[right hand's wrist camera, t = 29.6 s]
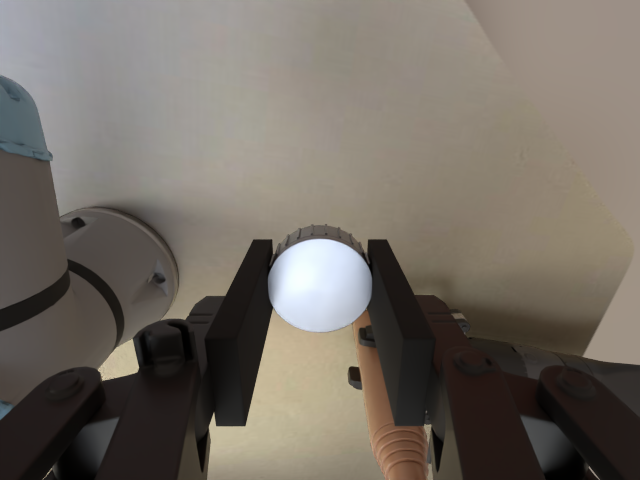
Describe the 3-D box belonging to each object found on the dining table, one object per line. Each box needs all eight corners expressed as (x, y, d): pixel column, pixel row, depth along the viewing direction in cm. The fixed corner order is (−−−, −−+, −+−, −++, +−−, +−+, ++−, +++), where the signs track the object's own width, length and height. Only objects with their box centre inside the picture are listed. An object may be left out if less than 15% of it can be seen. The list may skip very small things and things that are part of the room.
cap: (354, 321, 15) (357, 343, 14) (262, 301, 15) (256, 321, 14) (382, 236, 14) (389, 251, 13) (281, 212, 14) (277, 225, 12)
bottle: (351, 340, 44) (378, 531, 24) (353, 309, 42) (383, 486, 23) (388, 341, 44) (444, 531, 24) (391, 309, 42) (454, 486, 23)
